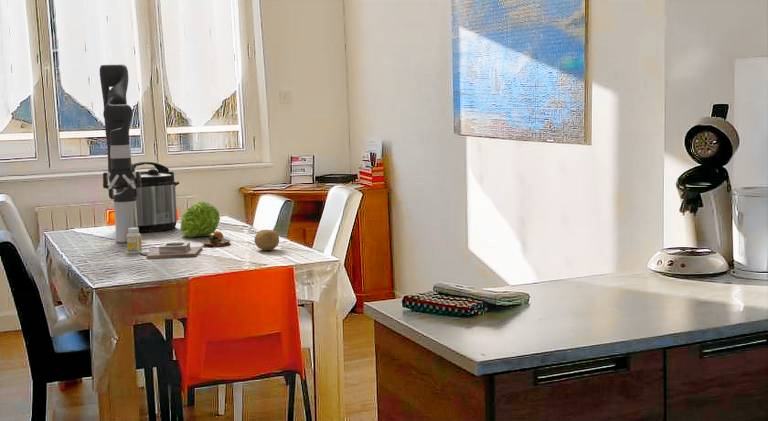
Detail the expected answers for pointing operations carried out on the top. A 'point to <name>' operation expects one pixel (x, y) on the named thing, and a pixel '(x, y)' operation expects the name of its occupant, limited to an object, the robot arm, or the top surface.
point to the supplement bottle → (133, 240)
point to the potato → (266, 239)
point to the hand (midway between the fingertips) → (123, 198)
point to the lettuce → (200, 220)
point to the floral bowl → (216, 240)
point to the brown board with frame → (174, 251)
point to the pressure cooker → (155, 198)
